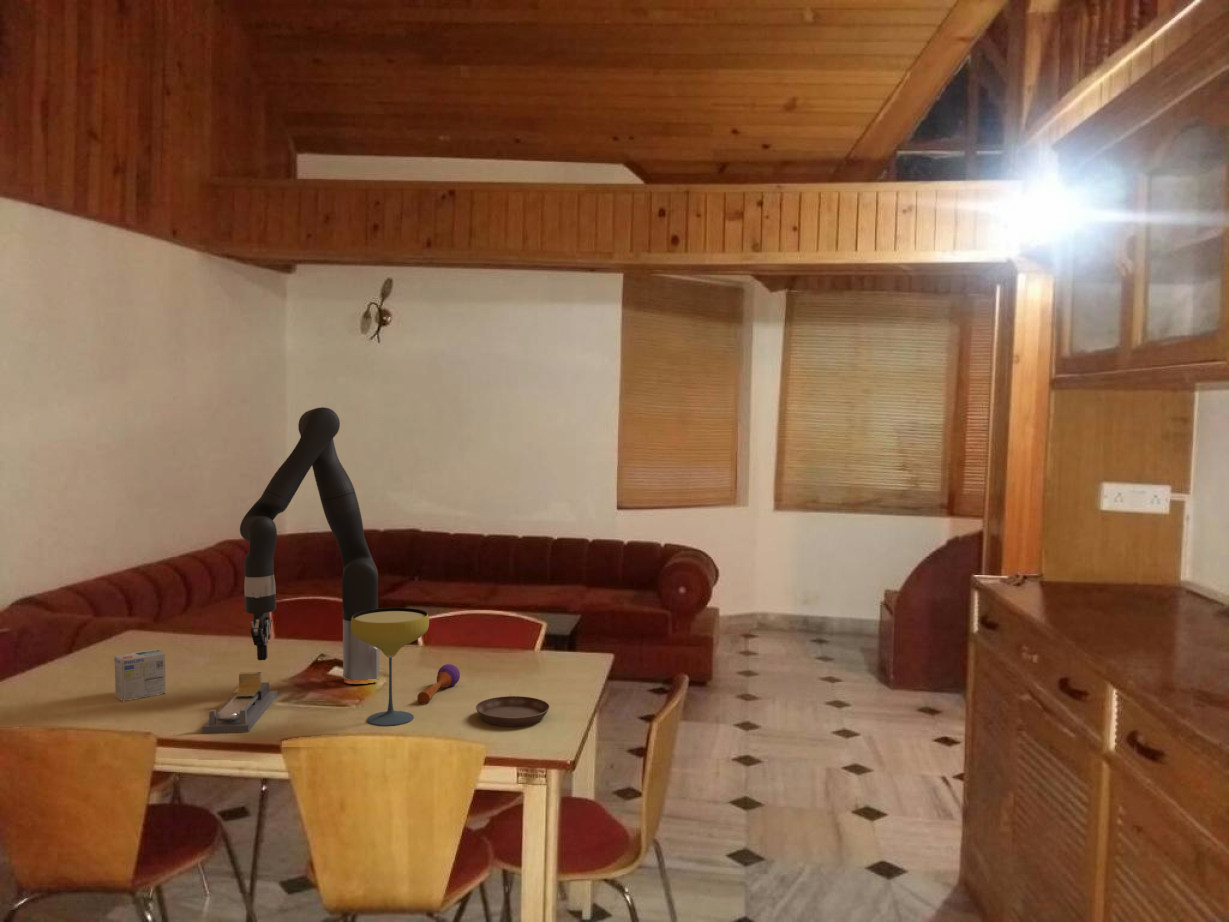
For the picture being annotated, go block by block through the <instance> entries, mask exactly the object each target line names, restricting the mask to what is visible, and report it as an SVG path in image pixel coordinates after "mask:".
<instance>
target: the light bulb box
mask: <svg viewBox="0 0 1229 922" xmlns="http://www.w3.org/2000/svg"><path fill="white" fill-rule="evenodd" d="M114 680H115V681H114V687H115V689H114V691H115V697H116V696H117V697H119V698H120V699H122V700H129V699H134V700H136V699H135V698H139V699H141V698H140V697H145V698H148V697H147V696H150V697H152V696H151V695H155V696H158V695H157V694H161V695H164V694H163V693H165V694H166V693H167V687H166V653H165V652H164V651H161V650H159V649H157V648H154V649H150V650H149V649H148V650H143V651H136V652H130V653H125V654H119V655H118V654H117V655H114ZM117 697H116V698H117ZM120 699H119V700H120ZM129 701H130V700H129Z"/></svg>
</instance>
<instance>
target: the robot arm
mask: <svg viewBox="0 0 1229 922" xmlns="http://www.w3.org/2000/svg"><path fill="white" fill-rule="evenodd" d="M340 426H341V423H340V417H339V415H338V414H337V412H335V411H334V410H333V409H331V408H328V407H323V406H322V407H316V408H313V409H310V410H307V411H305V412H304V413H303V414H302V415H301V416H300V417H299V420H298V427H297V428H298V433H299V435H300V437H299V440H298V442H297V443H296V445H295V447H294V449H293V450H292V452H291V453H290V454H289V456H288V457H287V458H286V459H285V460H284V461H283V463H282V464H281V465H280V466H279V467H278V469H277V471H276V472H275V473H274V474H273V476H272V478H271V479H270V481H269V482H268V483H267V485H266V487H265V489H264V491H263V493H262V495H261V496H260V497H259V499H258V500H257V501H256V502H255V503H254V504H253V505H252V506H251V507H250V509H249V510H248V511H247V513H246V514H245V515H244V516H243V518H242V520H241V523H240V526H239V533H240V535H241V537H242V538H243V539H244V540H245V541H246V542H247V541H248V542H249V550H248V553H247V554H246V555H245V558H244V585H243V586H244V588H243V589H244V611H245V612H246V613H247V614H252V615H253V619H252V620H251V627H252V628H251V629H250V630H249V631H250V634H251V638H252V641H253V645H254V646H256V656H257V657H256V658H257V660H258V661H266V660H267V659H268V644H269V640H270V638H271V637H270V636H271V629H272V621H273V620H272V618H271V616H269V614H270V613H271V612H274V611H275V610H276V609H277V593H276V591H277V590H276V589H277V588H276V580H275V567H274V565H275V564H274V556H275V552H276V547H277V546H276V545H277V540H278V539H277V537H278V531H277V526H276V523H275V522H274V519H275V518H277V516H278V515H279V514H281V513H284V511H286V510H287V508H288V506H289V505H290V503H291V501H292V500H293V498H294V496H295V494H296V493H297V491H298V489H299V488H300V486H301V484H302V482H303V481H304V480H305V478H306V476H307V474H308V472H309V471H310V469H311V468H312V470H313V474H314V475H313V477H314V480H315V482H316V487H317V490H318V494H319V499H320V502H321V507H322V510H323V513H324V516H325V519H326V521H327V524H328V526H329V528H330V530H331V532H332V534H333V537H334V539H335V540H336V543H337V546H338V549H339V553H340V558H341V562H342V563H341V564H342V570H343V573H342V578H341V580H342V581H341V594H342V595H341V597H342V599H341V600H342V604H341V605H342V607H341V608H342V666H343V667H342V669H343V671H342V678H343V677H345V678H347V679H350V680H368V679H377V677H378V675H379V676H380V649H379V648H377V647H375V646H372V645H370V644H368V643H365V642H363V641H361V640H360V639H358V638H357V637H356V636H355V635H354V634H353V633H352V629H351V619H352V616H353V615H354V614H356V613H359V612H362V611H366V610H372V609H379V583H378V582H379V571H378V568H377V566H376V565H377V564H376V563H375V561H374V558H373V556H372V554H371V552H370V549H369V546H368V543H367V541H366V537H365V532H364V525H363V519H362V513H361V509H360V505H359V501H358V497H357V493H356V491H355V488H354V485H353V481H351V478H350V477H349V474H348V473H347V471H346V470H345V468H344V466H343V464H342V463H341V462H340V459H339V457H338V454H337V450H336V446H335V445H336V444H335V441H334V438H335V437H336V435H337V434H338V433H339V430H340Z"/></svg>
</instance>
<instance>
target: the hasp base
mask: <svg viewBox="0 0 1229 922" xmlns="http://www.w3.org/2000/svg"><path fill="white" fill-rule="evenodd" d="M257 694H258V698H257V699H256V700H255V702H254V703H253V704H252V705H251V706H250V707H249V708H248V709H241V710H240V717H239V718H238V720H222V721H217V714H218V713H219V712H220V711H221V710H222V709H223V708H224V707H225V706H226V705H227V704H228V703H229V702H230V701H231V700H232V699H233V698H234V697H235V696H233V695H232V696H231V697H230V698H229V699H228V700H227V701H226V702H225V703H224V704H223V705H222V706H221V707H220V708H219V709H218V710H216V709H210V710H209V711H208V720H207V721H206V722H205V723H204V724H203V726H202V734H215V733H216V734H218V733H219V734H220V733H223V734H224V733H248V732H249V731H251V729H252V728H253V727H254V725H256V723H257V722H258V721H259V720H260V718H261V717H262V716H263V715H264V714H265V713H266V711H267V710H268V709H269V708H270V706H271V705H272V704H273V702H275V700H276V699H277V698H278V690H270V682H266V681H265V682H262V684H261V689H260V690H259V691H258V692H257Z"/></svg>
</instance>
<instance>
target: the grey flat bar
mask: <svg viewBox="0 0 1229 922" xmlns="http://www.w3.org/2000/svg"><path fill="white" fill-rule="evenodd" d="M257 698H258V694H256V695H255V696H235V697H234V698H233V699H232V700H231V701H230V702H229V703H228V704H227V705H226V706H225V707H224V708H223V709H222V710H221V711H220V712H219V713H218V714H217V721H222V720H238V718H239V717H240V710H241V709H248V708H249V707H250V706H251V705H252V704H253V703H254V702H255V700H256V699H257Z"/></svg>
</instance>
